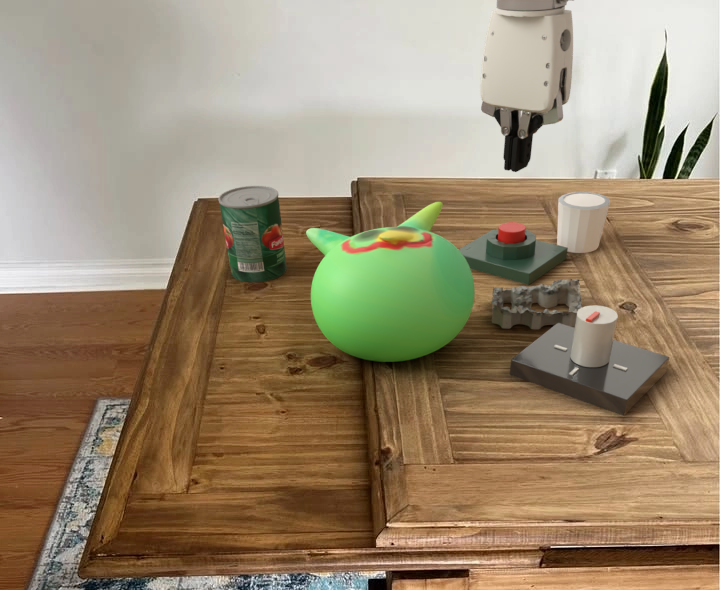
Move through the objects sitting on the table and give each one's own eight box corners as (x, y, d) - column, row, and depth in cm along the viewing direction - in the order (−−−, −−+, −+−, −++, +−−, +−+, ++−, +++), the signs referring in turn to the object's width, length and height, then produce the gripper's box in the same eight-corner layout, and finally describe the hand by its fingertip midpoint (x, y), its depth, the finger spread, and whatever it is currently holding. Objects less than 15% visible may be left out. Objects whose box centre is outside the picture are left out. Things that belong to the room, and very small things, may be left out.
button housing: (566, 262, 101) (569, 234, 98) (528, 289, 95) (531, 260, 93) (491, 243, 107) (493, 216, 104) (452, 267, 101) (453, 239, 99)
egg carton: (579, 309, 90) (584, 277, 88) (579, 339, 85) (585, 306, 82) (492, 304, 92) (494, 273, 90) (487, 332, 87) (489, 301, 84)
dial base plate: (664, 377, 78) (670, 355, 76) (622, 421, 72) (627, 398, 70) (555, 341, 85) (558, 321, 83) (508, 379, 79) (510, 358, 77)
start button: (529, 238, 99) (531, 225, 98) (515, 247, 97) (516, 234, 96) (506, 232, 101) (507, 220, 100) (492, 241, 99) (493, 228, 98)
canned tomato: (227, 268, 105) (213, 190, 98) (280, 259, 107) (270, 181, 100) (237, 291, 99) (223, 210, 92) (293, 280, 101) (284, 200, 94)
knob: (581, 344, 79) (588, 299, 75) (616, 355, 77) (625, 309, 73) (563, 359, 77) (570, 313, 73) (598, 371, 75) (607, 325, 71)
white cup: (571, 262, 101) (579, 212, 96) (542, 245, 106) (548, 196, 101) (612, 252, 103) (621, 202, 98) (581, 236, 107) (589, 187, 103)
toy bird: (325, 396, 78) (312, 265, 69) (309, 323, 91) (296, 204, 82) (488, 375, 80) (497, 244, 70) (449, 306, 93) (453, 187, 83)
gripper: (609, -5, 79) (584, 170, 91) (492, -11, 87) (482, 151, 99) (576, 5, 75) (553, 187, 87) (456, -3, 83) (450, 166, 95)
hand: (516, 167), depth 93 cm, fingers closed
